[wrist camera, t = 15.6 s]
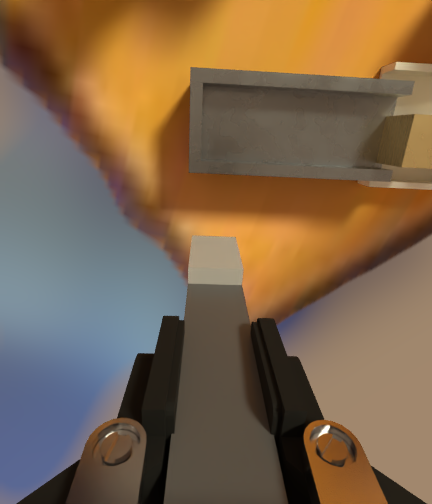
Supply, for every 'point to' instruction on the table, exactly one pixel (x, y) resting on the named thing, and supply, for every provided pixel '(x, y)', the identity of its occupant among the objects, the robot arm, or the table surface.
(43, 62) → the table surface
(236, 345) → the grey rectangular bar
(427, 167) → the tan cube
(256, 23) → the table surface
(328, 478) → the robot arm
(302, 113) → the slot block
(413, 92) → the tray
